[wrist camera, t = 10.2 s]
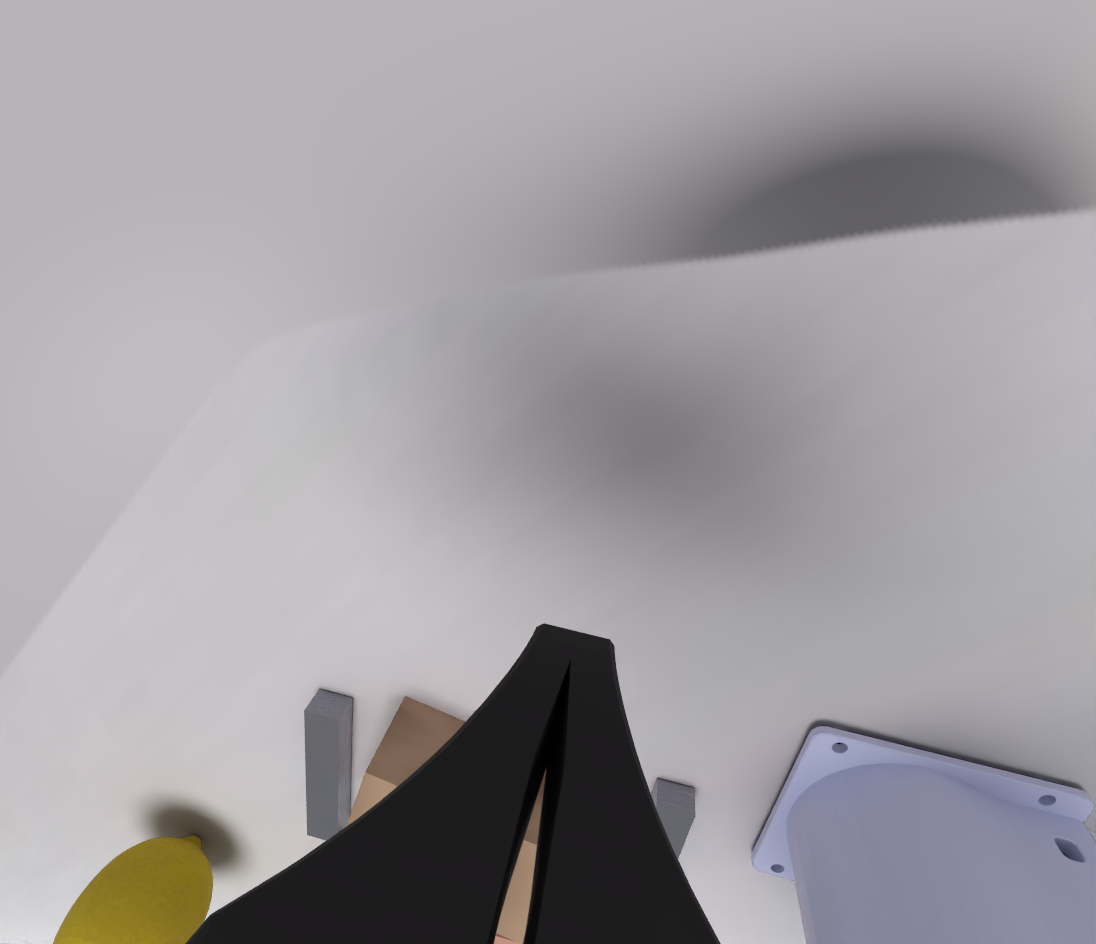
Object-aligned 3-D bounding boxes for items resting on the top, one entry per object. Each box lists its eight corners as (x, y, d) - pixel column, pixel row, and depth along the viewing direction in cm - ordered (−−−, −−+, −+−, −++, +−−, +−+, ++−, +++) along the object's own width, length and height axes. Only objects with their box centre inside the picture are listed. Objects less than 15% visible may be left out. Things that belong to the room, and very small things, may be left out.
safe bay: (694, 788, 25) (695, 815, 24) (649, 905, 28) (648, 933, 27) (319, 689, 26) (304, 710, 25) (320, 811, 30) (307, 835, 29)
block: (606, 776, 26) (596, 870, 22) (554, 855, 28) (538, 951, 25) (407, 691, 26) (365, 772, 22) (374, 779, 29) (332, 863, 25)
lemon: (259, 838, 32) (138, 1028, 24) (227, 886, 34) (108, 1071, 27) (163, 784, 31) (11, 961, 24) (137, 836, 34) (-7, 1011, 26)
